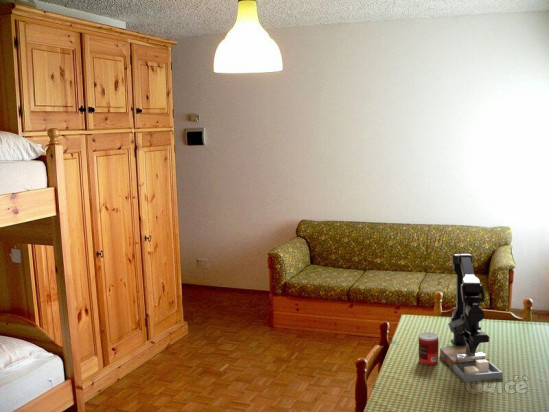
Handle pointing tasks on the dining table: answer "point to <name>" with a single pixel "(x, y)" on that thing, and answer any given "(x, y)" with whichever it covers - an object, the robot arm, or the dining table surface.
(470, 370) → the tile
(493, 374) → the box
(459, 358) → the scraper
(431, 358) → the canned food
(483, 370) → the tile
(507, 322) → the dining table surface
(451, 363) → the plate
